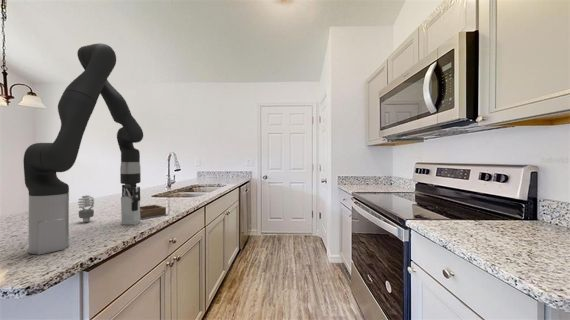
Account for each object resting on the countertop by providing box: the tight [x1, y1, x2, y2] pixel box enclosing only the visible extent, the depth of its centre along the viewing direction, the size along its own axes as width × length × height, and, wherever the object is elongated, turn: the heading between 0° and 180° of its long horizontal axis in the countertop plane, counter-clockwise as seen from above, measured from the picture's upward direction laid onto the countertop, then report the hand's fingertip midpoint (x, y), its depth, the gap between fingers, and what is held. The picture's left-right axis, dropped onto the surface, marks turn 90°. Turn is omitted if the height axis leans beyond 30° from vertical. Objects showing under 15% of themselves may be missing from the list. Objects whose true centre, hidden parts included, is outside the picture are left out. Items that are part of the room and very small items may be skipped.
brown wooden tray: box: [140, 204, 167, 218], centre depth 127 cm, size 11×11×4 cm
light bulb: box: [77, 194, 95, 223], centre depth 112 cm, size 6×6×12 cm
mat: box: [140, 213, 168, 221], centre depth 126 cm, size 14×14×1 cm
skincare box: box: [120, 196, 141, 226], centre depth 110 cm, size 6×4×12 cm
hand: (130, 209), depth 111 cm, fingers open, 8 cm apart
